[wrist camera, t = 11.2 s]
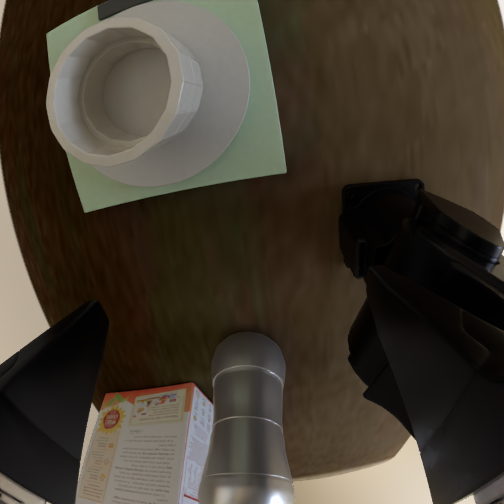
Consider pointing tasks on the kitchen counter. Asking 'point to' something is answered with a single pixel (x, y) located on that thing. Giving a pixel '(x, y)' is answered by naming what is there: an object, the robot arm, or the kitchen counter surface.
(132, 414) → the cracker box
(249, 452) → the silver metal bottle
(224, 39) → the scale
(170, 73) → the bowl
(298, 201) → the kitchen counter surface
